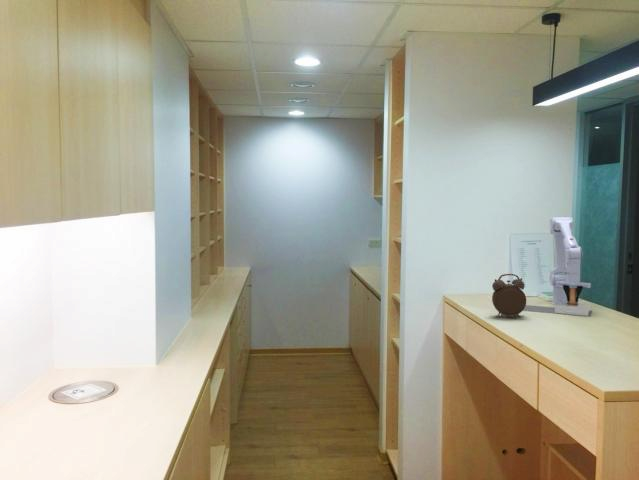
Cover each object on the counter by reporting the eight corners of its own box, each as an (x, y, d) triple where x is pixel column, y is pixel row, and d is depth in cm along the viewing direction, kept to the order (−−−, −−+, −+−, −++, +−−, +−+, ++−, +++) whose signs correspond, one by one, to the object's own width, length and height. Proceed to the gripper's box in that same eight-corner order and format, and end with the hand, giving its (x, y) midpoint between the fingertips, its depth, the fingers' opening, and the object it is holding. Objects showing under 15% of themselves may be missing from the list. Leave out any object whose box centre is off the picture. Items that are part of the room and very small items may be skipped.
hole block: (557, 308, 257) (557, 300, 257) (589, 310, 250) (590, 302, 250) (554, 313, 247) (554, 304, 246) (588, 316, 240) (588, 307, 239)
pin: (569, 307, 250) (569, 287, 249) (576, 307, 249) (576, 287, 248) (568, 308, 248) (569, 288, 247) (575, 309, 246) (576, 288, 245)
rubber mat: (525, 305, 266) (525, 304, 265) (592, 311, 250) (592, 310, 250) (520, 311, 253) (520, 310, 253) (590, 317, 238) (590, 316, 238)
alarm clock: (522, 315, 246) (523, 272, 244) (526, 318, 239) (527, 275, 237) (490, 315, 247) (490, 272, 245) (493, 318, 240) (494, 275, 238)
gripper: (555, 273, 247) (554, 302, 248) (590, 275, 240) (589, 304, 241) (557, 271, 253) (556, 299, 254) (591, 273, 246) (590, 301, 247)
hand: (572, 301), depth 248 cm, fingers closed on pin, 3 cm apart
